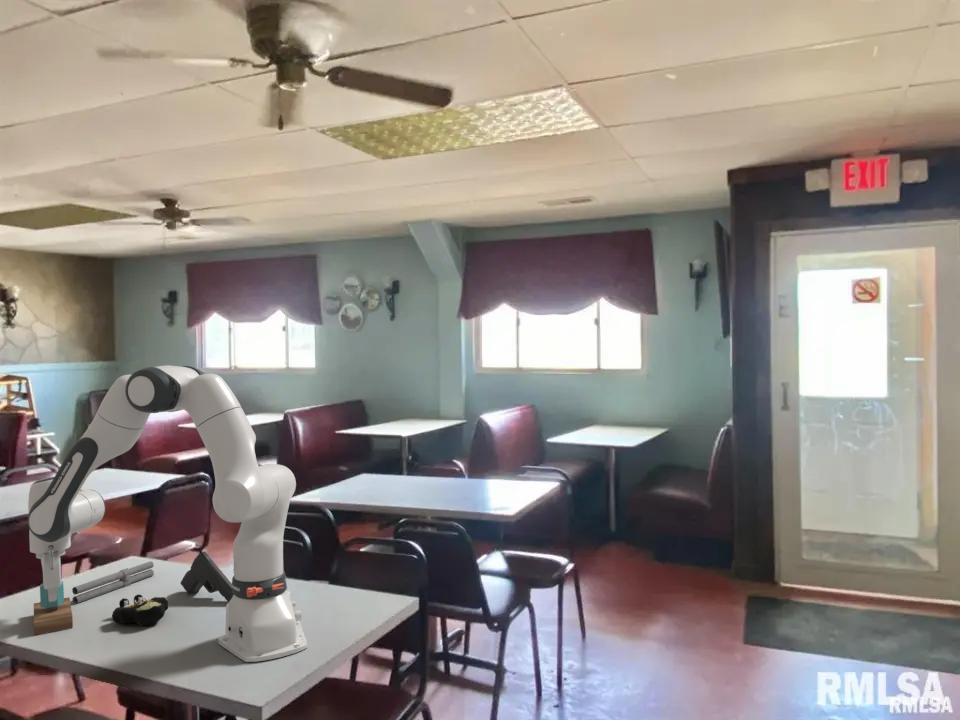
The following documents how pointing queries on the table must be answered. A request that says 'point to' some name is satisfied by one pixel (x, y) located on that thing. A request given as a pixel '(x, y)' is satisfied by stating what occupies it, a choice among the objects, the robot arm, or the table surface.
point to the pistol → (206, 577)
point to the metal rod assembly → (121, 576)
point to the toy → (140, 610)
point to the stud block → (52, 617)
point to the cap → (44, 597)
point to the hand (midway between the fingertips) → (52, 597)
